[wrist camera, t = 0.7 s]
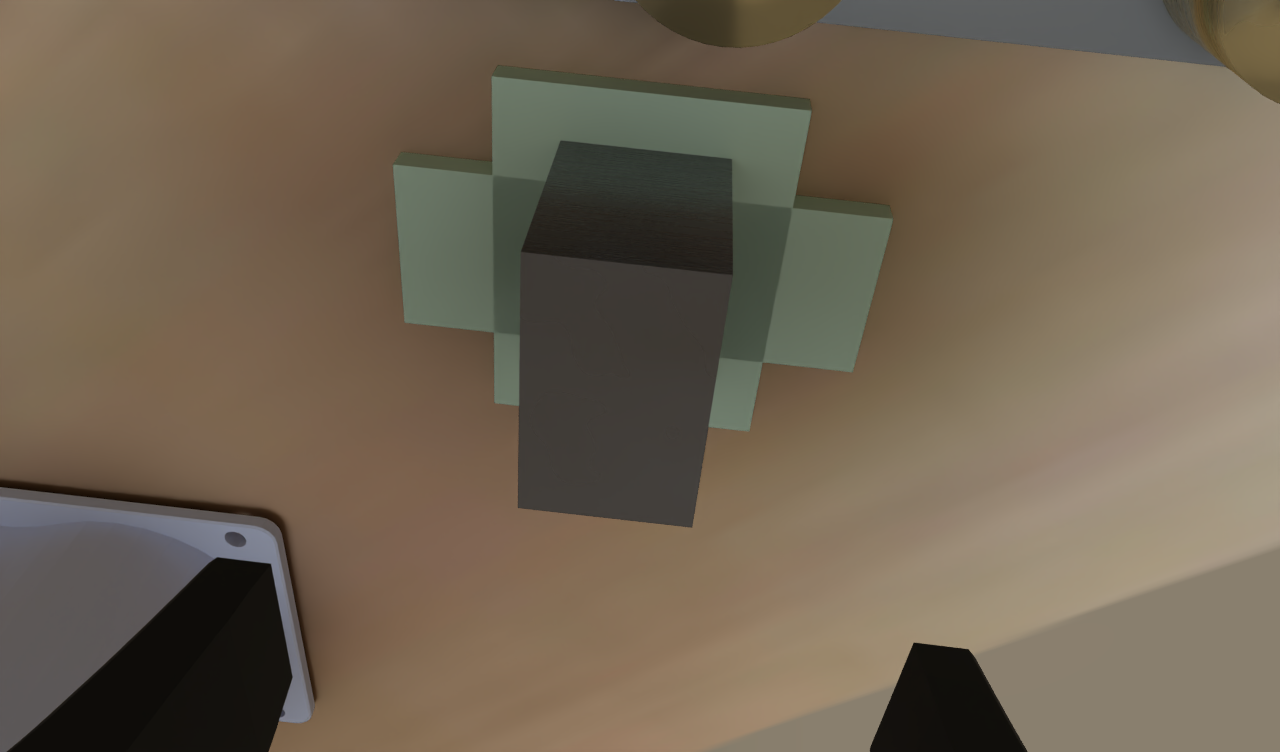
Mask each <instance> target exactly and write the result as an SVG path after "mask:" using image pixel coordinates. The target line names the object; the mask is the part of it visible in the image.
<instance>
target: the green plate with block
mask: <svg viewBox="0 0 1280 752" xmlns="http://www.w3.org/2000/svg"><path fill="white" fill-rule="evenodd" d="M811 113H812V109H811V104H810V99H805V98H795V97H786V96H777V95H768V94H758V93H749V92H740V91H731V90H722V89H712V88H703V87H694V86H685V85H675V84H666V83H657V82H648V81H638V80H629V79H620V78H611V77H601V76H592V75H583V74H574V73H564V72H555V71H546V70H537V69H527V68H518V67H509V66H500V65H498V66H497V68H496V70H495V71H494V73H493V75H492V162H489V161H480V160H471V159H461V158H452V157H443V156H434V155H425V154H416V153H407V152H401V153H400V155H399V156H398V158H397V159H396V161H395V162H394V163H393V174H394V187H395V201H396V214H397V227H398V241H399V254H400V268H401V281H402V294H403V308H404V321H405V323H413V324H422V325H431V326H440V327H449V328H458V329H467V330H476V331H485V332H494V403H498V404H507V405H516V406H519V455H518V508H523V509H532V510H541V511H550V512H559V513H568V514H576V515H585V516H594V517H603V518H612V519H621V520H630V521H638V522H647V523H656V524H665V525H674V526H683V527H692V525H693V519H694V513H695V506H696V500H697V494H698V488H699V482H700V476H701V469H702V463H703V457H704V451H705V445H706V439H707V432H708V427H713V428H722V429H731V430H740V431H749V430H750V425H751V420H752V415H753V409H754V404H755V399H756V394H757V389H758V384H759V379H760V374H761V369H762V363H763V362H764V363H773V364H782V365H791V366H800V367H809V368H818V369H827V370H836V371H845V372H853V369H854V365H855V362H856V358H857V354H858V350H859V347H860V343H861V339H862V335H863V332H864V328H865V324H866V320H867V317H868V313H869V309H870V305H871V302H872V298H873V294H874V290H875V286H876V283H877V279H878V275H879V271H880V268H881V264H882V260H883V256H884V253H885V249H886V245H887V241H888V238H889V234H890V230H891V226H892V223H893V216H892V213H891V209H890V206H889V205H882V204H873V203H864V202H854V201H845V200H836V199H827V198H818V197H809V196H800V195H796V189H797V184H798V179H799V174H800V169H801V164H802V159H803V154H804V149H805V143H806V138H807V133H808V128H809V123H810V118H811Z"/></svg>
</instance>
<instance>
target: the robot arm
mask: <svg viewBox="0 0 1280 752" xmlns="http://www.w3.org/2000/svg"><path fill="white" fill-rule="evenodd" d="M236 532H237V533H236ZM238 533H240V534H238ZM314 708H315V703H314V698H313V693H312V687H311V682H310V677H309V672H308V667H307V662H306V656H305V651H304V646H303V641H302V636H301V631H300V625H299V620H298V615H297V610H296V605H295V600H294V594H293V589H292V584H291V579H290V574H289V569H288V563H287V558H286V553H285V548H284V543H283V538H282V533H281V531H280V529H279V527H278V526H277V525H276V524H275V523H274V522H272V521H270V520H268V519H266V518H262V517H256V516H248V515H239V514H230V513H222V512H213V511H204V510H195V509H187V508H178V507H169V506H161V505H152V504H143V503H134V502H126V501H117V500H108V499H100V498H91V497H82V496H73V495H65V494H56V493H47V492H39V491H30V490H21V489H12V488H4V487H0V752H268V751H269V749H270V746H271V743H272V740H273V737H274V734H275V731H276V728H277V725H278V722H279V721H282V722H291V723H303V722H306V721H308V720H309V719H310V718H311V716H312V714H313V711H314ZM870 752H1027V750H1026V748H1025V746H1024V745H1023V743H1022V741H1021V740H1020V738H1019V736H1018V734H1017V733H1016V731H1015V729H1014V727H1013V725H1012V724H1011V722H1010V720H1009V718H1008V717H1007V715H1006V713H1005V711H1004V709H1003V708H1002V706H1001V704H1000V702H999V700H998V699H997V697H996V695H995V694H994V691H993V690H992V688H991V686H990V684H989V682H988V680H987V679H986V677H985V675H984V673H983V671H982V669H981V668H980V666H979V664H978V662H977V660H976V658H975V657H974V656H973V654H972V653H971V652H970V651H969V649H962V648H953V647H945V646H937V645H929V644H921V643H913V646H912V648H911V651H910V653H909V655H908V658H907V660H906V663H905V665H904V668H903V670H902V672H901V675H900V677H899V680H898V682H897V684H896V687H895V689H894V692H893V694H892V696H891V699H890V701H889V704H888V706H887V709H886V711H885V713H884V716H883V718H882V721H881V723H880V725H879V728H878V730H877V733H876V735H875V737H874V740H873V742H872V745H871V748H870Z"/></svg>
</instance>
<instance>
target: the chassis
mask: <svg viewBox="0 0 1280 752" xmlns="http://www.w3.org/2000/svg"><path fill="white" fill-rule="evenodd" d="M616 1H625V2H634V3H639V4H640V5H641V7H642V8H643V9H644V10H645V11H646V12H647V13H649V14H650V15H651V16H652V17H653V18H655V19H656V20H657V21H658V22H660V23H661V24H663V25H664V26H666V27H667V28H669V29H670V30H672V31H674V32H676V33H678V34H680V35H682V36H684V37H686V38H688V39H691V40H694V41H698V42H701V43H704V44H708V45H714V46H720V47H735V48H742V47H753V46H760V45H765V44H769V43H774V42H777V41H779V40H782V39H785V38H788V37H791V36H793V35H795V34H797V33H799V32H801V31H803V30H804V29H806V28H808V27H810V26H811V25H813V24H814V23H816V22H818V23H827V24H837V25H846V26H855V27H864V28H874V29H883V30H892V31H901V32H910V33H920V34H929V35H938V36H947V37H956V38H966V39H975V40H984V41H993V42H1003V43H1012V44H1021V45H1030V46H1039V47H1049V48H1058V49H1067V50H1076V51H1085V52H1095V53H1104V54H1113V55H1122V56H1131V57H1141V58H1150V59H1159V60H1168V61H1178V62H1187V63H1196V64H1205V65H1214V66H1224V67H1227V68H1229V69H1230V70H1231V71H1232V72H1234V73H1235V74H1236V75H1237V76H1239V77H1240V78H1241V79H1243V80H1244V81H1245V82H1246V83H1248V84H1249V85H1250V86H1251V87H1253V88H1254V89H1255V90H1257V91H1258V92H1259V93H1260V94H1262V95H1263V96H1265V97H1267V98H1269V99H1271V100H1273V101H1275V102H1276V103H1279V104H1280V0H616Z"/></svg>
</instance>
